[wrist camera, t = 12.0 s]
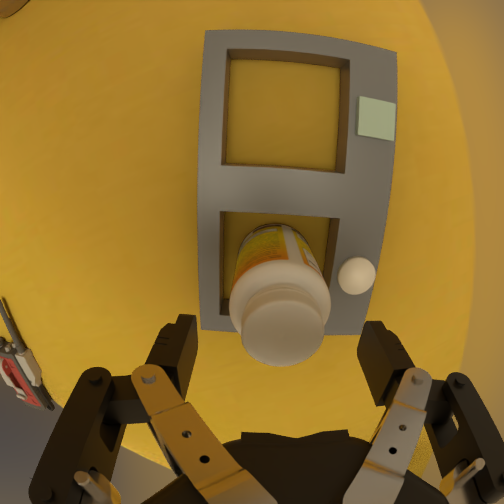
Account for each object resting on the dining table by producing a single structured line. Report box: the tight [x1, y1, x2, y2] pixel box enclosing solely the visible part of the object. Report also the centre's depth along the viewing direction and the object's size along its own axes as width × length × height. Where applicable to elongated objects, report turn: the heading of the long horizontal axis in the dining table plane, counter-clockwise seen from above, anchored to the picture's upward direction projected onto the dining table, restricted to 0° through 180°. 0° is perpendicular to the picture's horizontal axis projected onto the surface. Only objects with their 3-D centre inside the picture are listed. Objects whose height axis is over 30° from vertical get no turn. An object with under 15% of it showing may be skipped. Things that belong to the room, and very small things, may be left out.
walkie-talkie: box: [0, 300, 55, 411], centre depth 28 cm, size 9×4×20 cm
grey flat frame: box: [197, 30, 397, 335], centre depth 19 cm, size 22×13×3 cm, turn 177°
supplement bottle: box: [229, 224, 331, 366], centre depth 18 cm, size 6×6×10 cm
